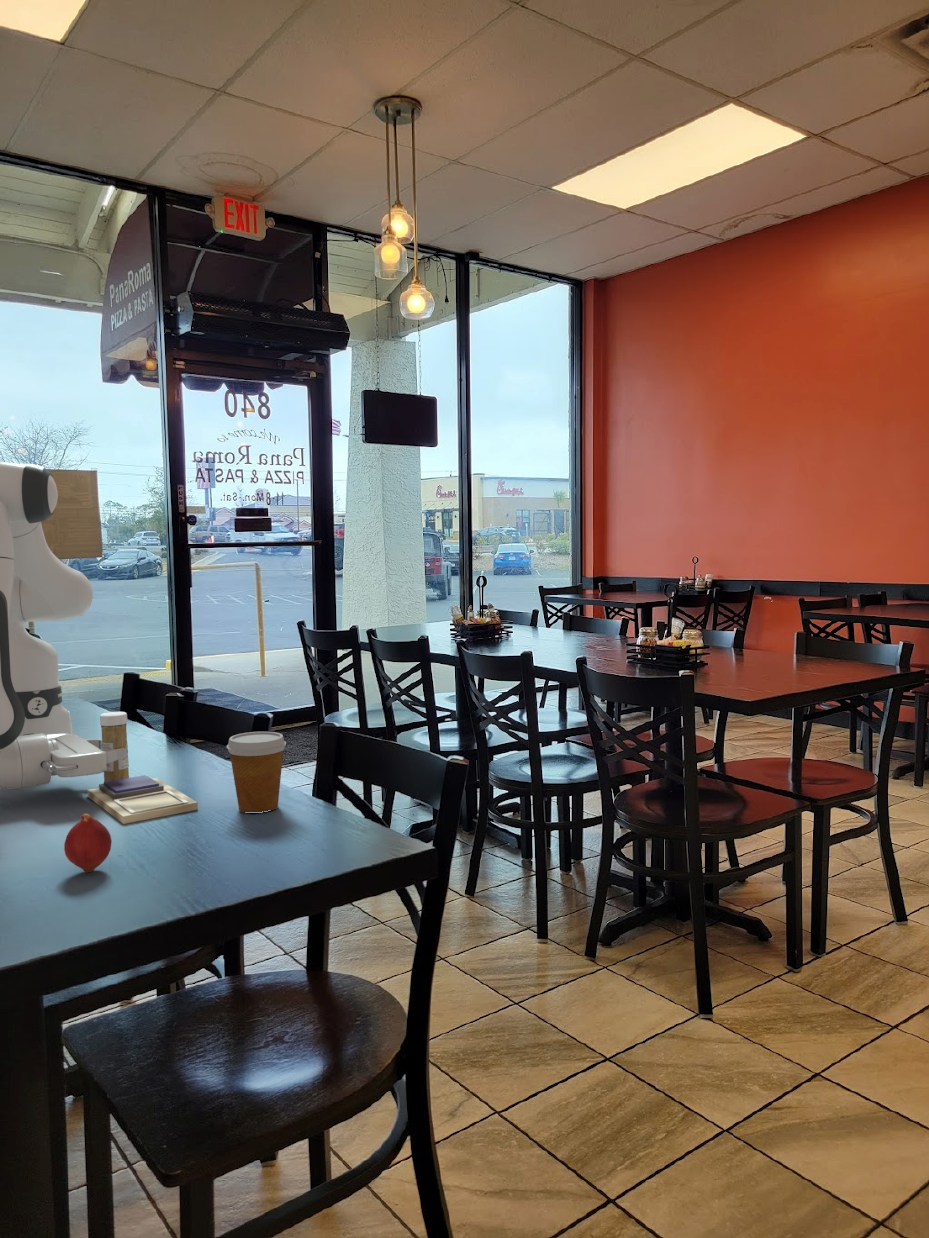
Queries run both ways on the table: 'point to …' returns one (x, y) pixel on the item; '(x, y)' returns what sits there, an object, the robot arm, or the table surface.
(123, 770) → the sprinkles bottle
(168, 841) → the table surface
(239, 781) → the disposable coffee cup
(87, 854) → the onion
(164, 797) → the stamp station
